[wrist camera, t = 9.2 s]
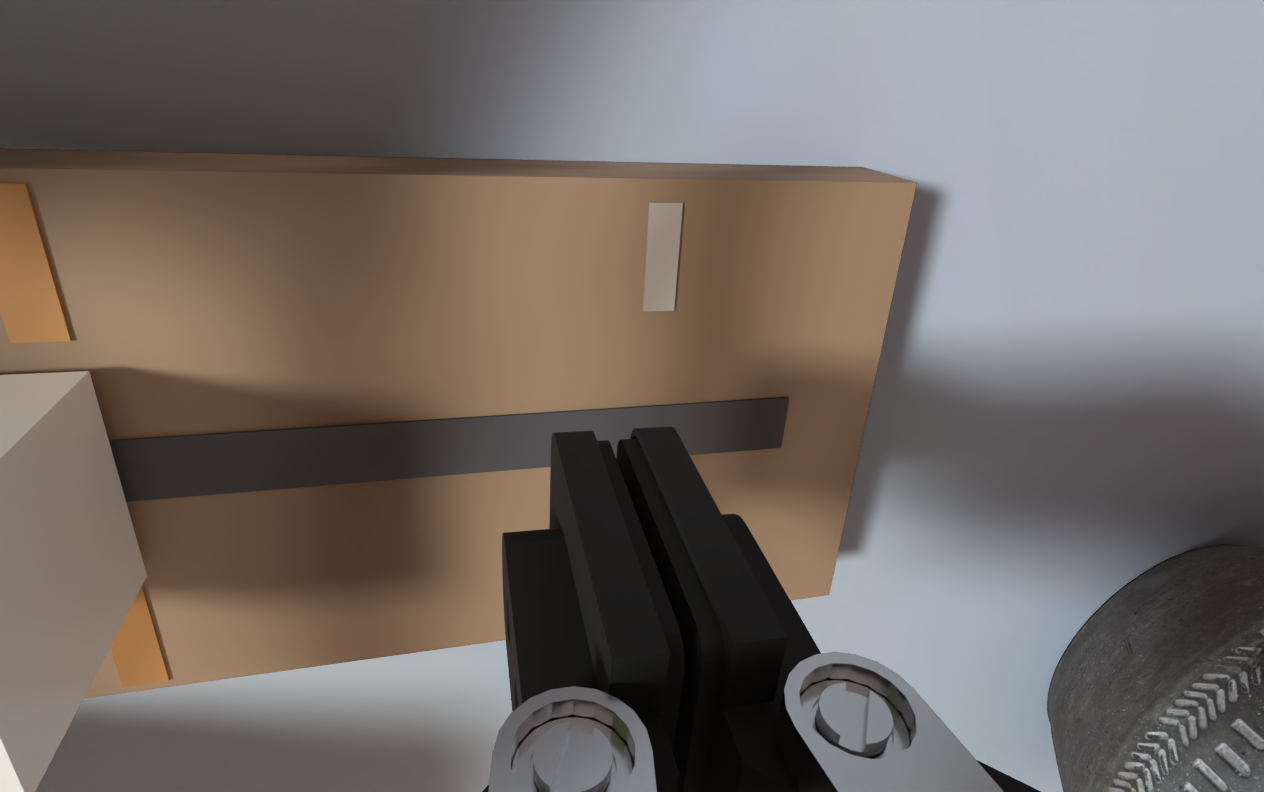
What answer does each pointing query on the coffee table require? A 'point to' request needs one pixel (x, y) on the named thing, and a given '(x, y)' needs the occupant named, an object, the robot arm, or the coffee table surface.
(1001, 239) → the coffee table surface
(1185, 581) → the planter
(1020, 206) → the coffee table surface
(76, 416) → the fader
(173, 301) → the fader console
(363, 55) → the coffee table surface
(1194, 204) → the coffee table surface
